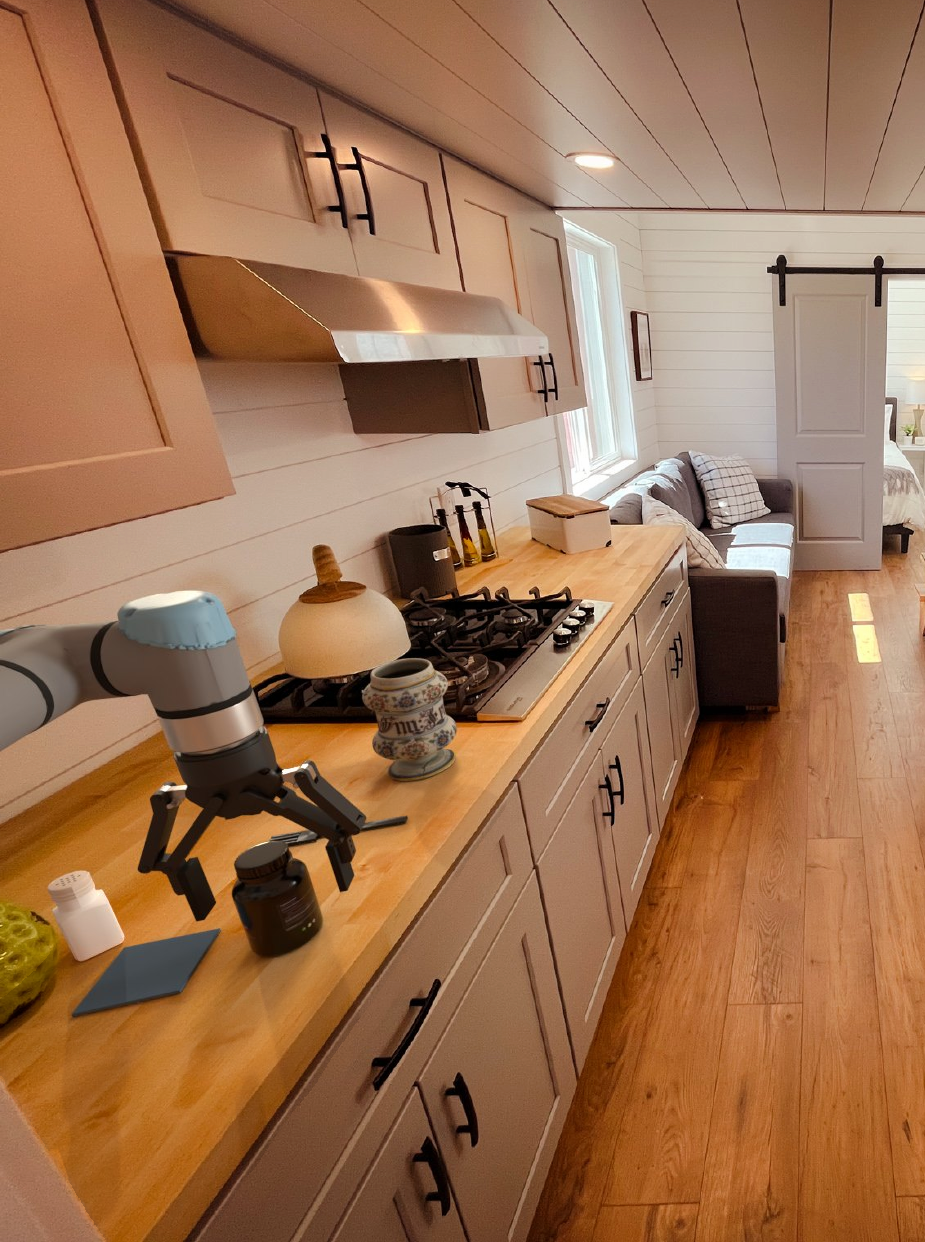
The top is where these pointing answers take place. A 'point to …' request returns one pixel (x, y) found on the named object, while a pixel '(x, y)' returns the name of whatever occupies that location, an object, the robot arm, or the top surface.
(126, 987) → the dark blue square coaster
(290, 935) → the supplement bottle
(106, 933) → the pepper shaker
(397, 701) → the apothecary jar
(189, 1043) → the top surface
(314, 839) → the fork
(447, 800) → the top surface
